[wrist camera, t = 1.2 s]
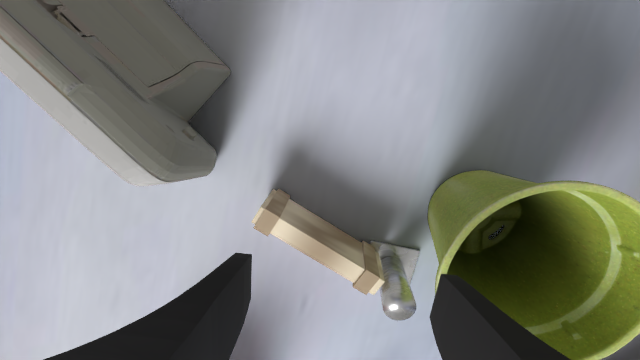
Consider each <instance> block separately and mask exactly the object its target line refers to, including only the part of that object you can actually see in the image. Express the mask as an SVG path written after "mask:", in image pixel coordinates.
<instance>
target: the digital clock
mask: <svg viewBox="0 0 640 360" xmlns="http://www.w3.org/2000/svg"><path fill="white" fill-rule="evenodd" d="M94 55H95V56H96V57H97V58H98V59H99V60H100V59H101V60H102V61H103V62H104V63H105V62H106V63H107V64H108V65H109V66H110V67H111V68H112V69H113V70H114V71H115V72H114V71H113V70H112V69H111V68H110V67H109V66H108V65H107V64H106V63H105V64H106V65H107V66H108V67H107V66H106V65H105V64H104V63H103V62H102V61H101V60H100V61H101V62H102V63H103V64H102V63H101V62H100V61H99V60H98V59H97V58H96V57H95V56H94ZM0 71H1V72H2V73H3V74H4V75H5V76H6V77H7V78H9V79H10V80H11V81H12V82H13V83H14V84H15V85H16V86H17V87H19V88H20V89H21V90H22V91H23V92H24V93H25V94H26V95H27V96H29V97H30V98H31V99H32V100H33V101H34V102H35V103H36V104H38V105H39V106H40V107H41V108H42V109H43V110H44V111H45V112H46V113H48V114H49V115H50V116H51V117H52V118H53V119H54V120H55V121H57V122H58V123H59V124H60V125H61V126H62V127H63V128H64V129H65V130H67V131H68V132H69V133H70V134H71V135H72V136H73V137H74V138H75V139H77V140H78V141H79V142H80V143H81V144H82V145H83V146H85V147H86V148H87V149H88V150H89V151H90V152H91V153H93V154H94V155H95V156H96V157H97V158H98V159H99V160H101V161H102V162H103V163H104V164H105V165H106V166H107V167H109V168H110V169H111V170H112V171H113V172H114V173H115V174H117V175H118V176H119V177H121V178H122V179H123V180H125V181H126V182H128V183H130V184H132V185H135V186H152V185H160V184H167V183H173V182H178V181H183V180H188V179H193V178H199V177H204V176H207V175H208V174H210V173H211V171H212V170H213V168H214V166H215V162H216V151H215V149H214V148H213V147H212V146H211V145H210V144H209V143H208V142H207V141H206V140H205V139H204V138H203V137H202V136H201V135H200V134H199V133H198V132H197V131H196V130H195V129H193V128H192V127H191V126H190V125H189V124H188V121H189V120H190V119H191V118H192V117H193V116H194V115H195V114H196V112H197V111H198V110H199V109H200V108H201V107H202V106H203V105H204V103H205V102H206V101H207V100H208V99H209V98H210V97H211V96H212V94H213V93H214V92H215V91H216V90H217V89H218V88H219V87H220V85H221V84H222V83H223V82H224V81H225V80H226V79H227V78H228V76H229V75H230V73H231V70H230V69H229V68H228V67H227V66H226V65H225V64H224V63H223V62H222V61H221V60H220V59H219V58H218V57H217V56H216V55H215V54H214V52H213V51H212V50H211V49H210V48H209V47H208V46H207V45H206V44H205V43H204V42H203V41H202V40H201V39H200V38H199V37H198V36H197V35H196V34H195V33H194V32H193V31H192V30H191V28H190V27H189V26H188V25H187V24H186V23H185V22H184V21H183V20H182V19H181V18H180V17H179V16H178V15H177V14H176V13H175V12H174V11H173V10H172V9H171V8H170V7H169V5H168V4H167V3H166V2H165V1H164V0H0ZM112 72H113V73H114V74H115V75H116V76H117V77H118V76H119V77H120V78H121V79H122V80H123V81H124V82H125V83H126V84H127V83H128V84H129V85H130V86H131V87H132V88H133V89H134V90H135V91H136V92H137V93H138V94H139V95H140V96H141V97H142V98H143V99H142V98H141V97H140V96H139V95H138V94H137V93H136V92H135V91H134V90H133V89H132V88H131V87H130V86H129V85H128V84H127V85H128V86H129V87H130V88H131V89H132V90H133V91H134V92H133V91H132V90H131V89H130V88H129V87H128V86H127V85H126V84H125V83H124V82H123V81H122V80H121V79H120V78H119V77H118V78H119V79H120V80H121V81H122V82H123V83H124V84H125V85H126V86H127V87H128V88H129V89H128V88H127V87H126V86H125V85H124V84H123V83H122V82H121V81H120V80H119V79H118V78H117V77H116V76H115V75H114V74H113V73H112ZM138 97H139V98H140V99H141V100H140V99H139V98H138Z"/></svg>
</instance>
